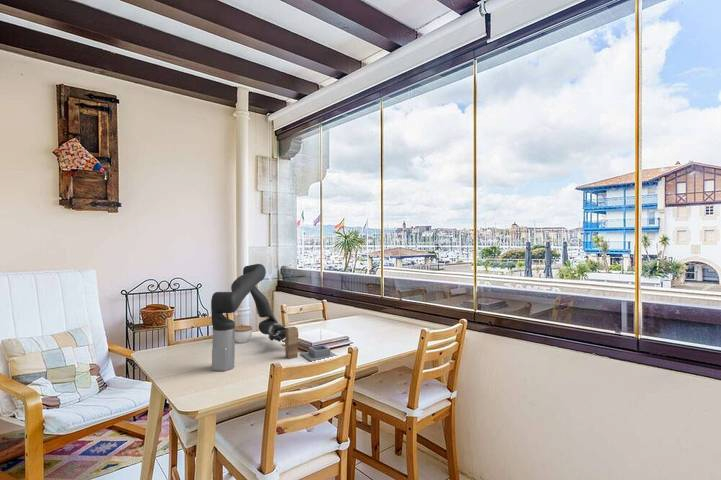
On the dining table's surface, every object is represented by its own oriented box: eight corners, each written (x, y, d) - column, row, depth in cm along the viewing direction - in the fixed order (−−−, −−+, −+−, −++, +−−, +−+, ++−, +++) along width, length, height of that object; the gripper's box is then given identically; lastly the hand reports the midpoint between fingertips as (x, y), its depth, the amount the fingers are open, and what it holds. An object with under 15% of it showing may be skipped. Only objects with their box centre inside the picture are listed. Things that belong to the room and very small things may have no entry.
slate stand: (338, 358, 186) (338, 349, 186) (311, 362, 179) (311, 353, 179) (326, 350, 198) (326, 342, 198) (300, 354, 191) (300, 346, 191)
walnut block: (297, 357, 187) (297, 328, 187) (288, 359, 184) (288, 329, 184) (294, 355, 191) (294, 326, 190) (285, 356, 188) (285, 327, 188)
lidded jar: (255, 339, 218) (255, 323, 218) (245, 345, 208) (245, 327, 208) (238, 338, 221) (239, 321, 221) (227, 343, 211) (227, 326, 211)
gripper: (264, 325, 201) (274, 332, 187) (290, 323, 209) (302, 329, 195) (264, 340, 201) (274, 348, 187) (290, 337, 209) (302, 344, 195)
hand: (288, 338), depth 191 cm, fingers open, 8 cm apart
